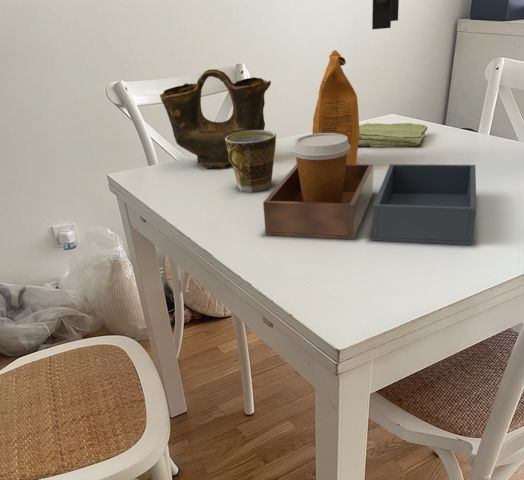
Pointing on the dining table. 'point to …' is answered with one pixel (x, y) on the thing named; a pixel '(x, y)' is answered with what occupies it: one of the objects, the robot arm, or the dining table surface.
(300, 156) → the disposable coffee cup
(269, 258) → the dining table surface
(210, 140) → the pottery vessel
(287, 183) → the wood bin
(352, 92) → the coffee package
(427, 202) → the grey bin
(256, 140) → the ceramic cup
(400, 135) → the washcloth
